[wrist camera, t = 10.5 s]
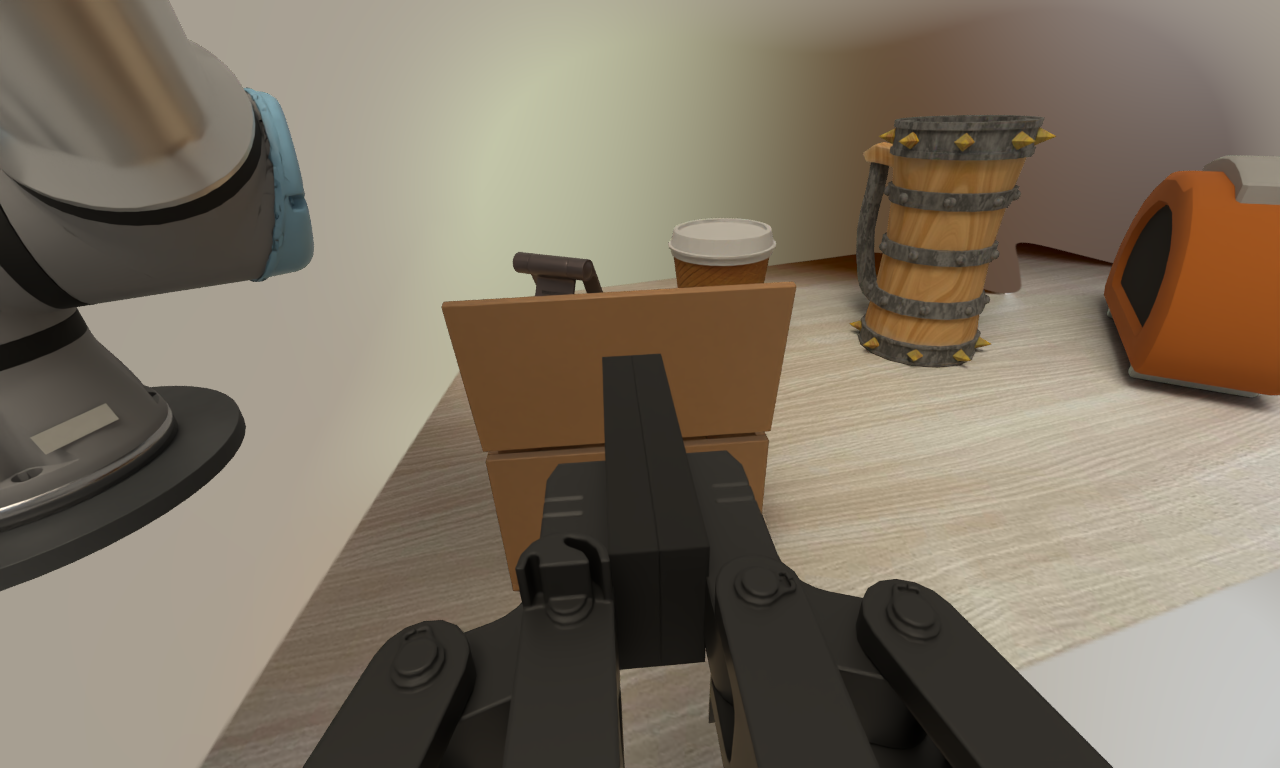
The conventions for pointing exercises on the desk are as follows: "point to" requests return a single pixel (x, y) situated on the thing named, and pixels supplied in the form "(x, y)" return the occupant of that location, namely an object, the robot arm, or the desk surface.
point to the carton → (527, 470)
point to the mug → (937, 231)
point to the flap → (619, 326)
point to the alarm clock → (1204, 280)
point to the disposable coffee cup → (721, 252)
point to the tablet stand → (557, 273)
